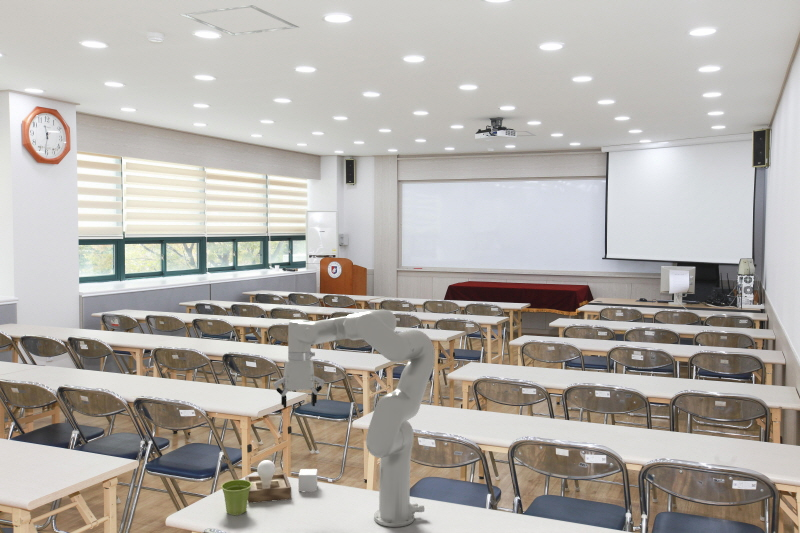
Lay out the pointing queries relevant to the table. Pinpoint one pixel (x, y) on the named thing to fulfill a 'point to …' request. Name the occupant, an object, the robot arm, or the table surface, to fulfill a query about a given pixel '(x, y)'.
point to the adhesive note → (308, 480)
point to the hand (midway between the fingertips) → (299, 406)
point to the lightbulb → (266, 472)
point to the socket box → (269, 489)
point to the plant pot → (236, 496)
